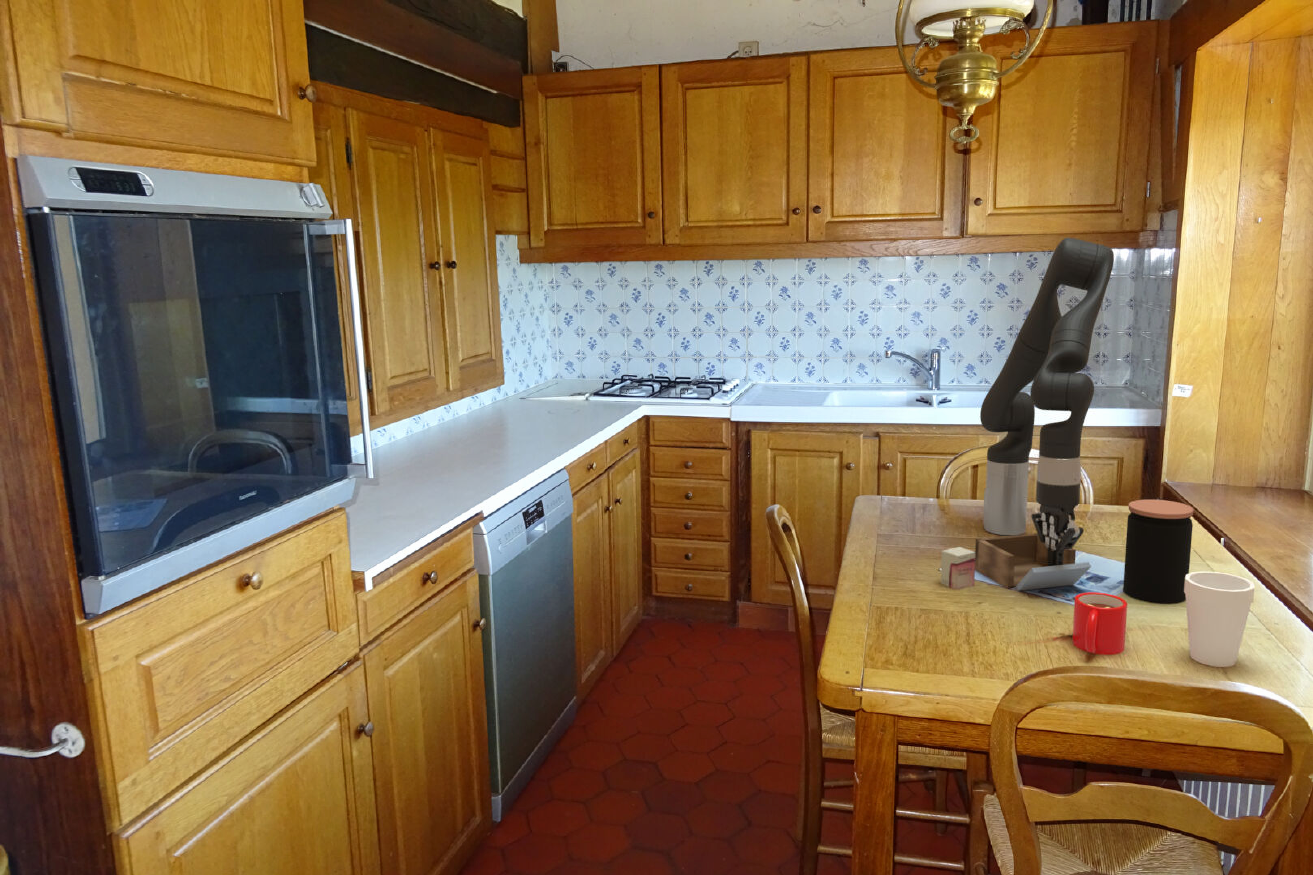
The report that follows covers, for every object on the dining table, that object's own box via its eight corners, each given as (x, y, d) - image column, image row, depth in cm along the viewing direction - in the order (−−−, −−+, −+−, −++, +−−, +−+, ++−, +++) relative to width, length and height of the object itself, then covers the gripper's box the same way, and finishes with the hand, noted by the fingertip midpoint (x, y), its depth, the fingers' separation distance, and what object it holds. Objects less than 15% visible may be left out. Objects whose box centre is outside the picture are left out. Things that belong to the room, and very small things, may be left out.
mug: (1063, 657, 148) (1066, 611, 147) (1076, 632, 158) (1079, 589, 157) (1117, 668, 144) (1120, 620, 143) (1127, 641, 154) (1130, 596, 152)
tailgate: (1013, 588, 177) (1030, 568, 171) (1070, 582, 179) (1089, 562, 173) (1015, 593, 176) (1033, 572, 170) (1072, 586, 179) (1092, 566, 173)
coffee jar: (1180, 591, 175) (1187, 500, 172) (1192, 611, 165) (1200, 515, 162) (1118, 587, 179) (1124, 497, 176) (1126, 606, 169) (1133, 512, 166)
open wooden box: (974, 573, 189) (975, 539, 187) (1037, 567, 192) (1038, 533, 190) (1007, 593, 177) (1009, 556, 176) (1073, 586, 180) (1075, 549, 179)
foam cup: (1183, 666, 144) (1190, 587, 141) (1174, 643, 152) (1180, 569, 150) (1254, 674, 140) (1262, 593, 138) (1240, 650, 149) (1247, 574, 146)
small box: (956, 594, 178) (957, 555, 176) (939, 588, 181) (940, 550, 180) (975, 589, 180) (976, 551, 178) (958, 583, 184) (959, 545, 182)
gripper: (1099, 485, 165) (1095, 576, 168) (1054, 470, 178) (1050, 556, 181) (1062, 488, 164) (1058, 580, 167) (1019, 473, 176) (1016, 559, 179)
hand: (1054, 567), depth 174 cm, fingers closed
